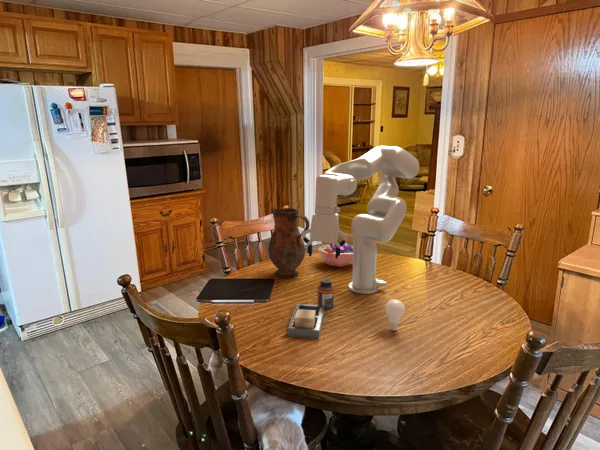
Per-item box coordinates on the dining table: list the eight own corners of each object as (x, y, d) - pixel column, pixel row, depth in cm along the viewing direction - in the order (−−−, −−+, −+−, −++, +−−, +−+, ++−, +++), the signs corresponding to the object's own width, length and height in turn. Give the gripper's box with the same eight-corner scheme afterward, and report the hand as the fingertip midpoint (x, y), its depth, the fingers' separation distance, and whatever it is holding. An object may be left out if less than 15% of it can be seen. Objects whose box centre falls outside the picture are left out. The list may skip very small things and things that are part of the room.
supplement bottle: (316, 305, 155) (317, 277, 152) (332, 304, 155) (332, 276, 152) (318, 312, 149) (319, 283, 146) (334, 311, 149) (335, 283, 147)
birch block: (315, 326, 136) (315, 310, 135) (313, 335, 131) (313, 318, 129) (297, 325, 137) (297, 309, 136) (294, 334, 132) (294, 317, 130)
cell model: (322, 257, 208) (322, 236, 205) (361, 261, 203) (362, 239, 200) (314, 269, 192) (314, 246, 189) (356, 273, 187) (357, 249, 184)
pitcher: (285, 265, 197) (284, 204, 190) (319, 275, 184) (320, 211, 176) (260, 274, 185) (258, 210, 178) (295, 286, 172) (295, 217, 164)
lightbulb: (404, 327, 138) (406, 297, 135) (402, 336, 132) (404, 305, 129) (385, 324, 140) (386, 294, 137) (382, 333, 134) (384, 302, 131)
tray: (324, 315, 146) (324, 305, 145) (318, 341, 129) (318, 330, 128) (296, 313, 148) (296, 303, 147) (287, 339, 130) (287, 328, 130)
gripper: (350, 209, 146) (348, 255, 150) (303, 207, 149) (302, 251, 153) (349, 213, 139) (346, 261, 143) (299, 210, 142) (298, 257, 146)
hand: (323, 256), depth 148 cm, fingers open, 9 cm apart
